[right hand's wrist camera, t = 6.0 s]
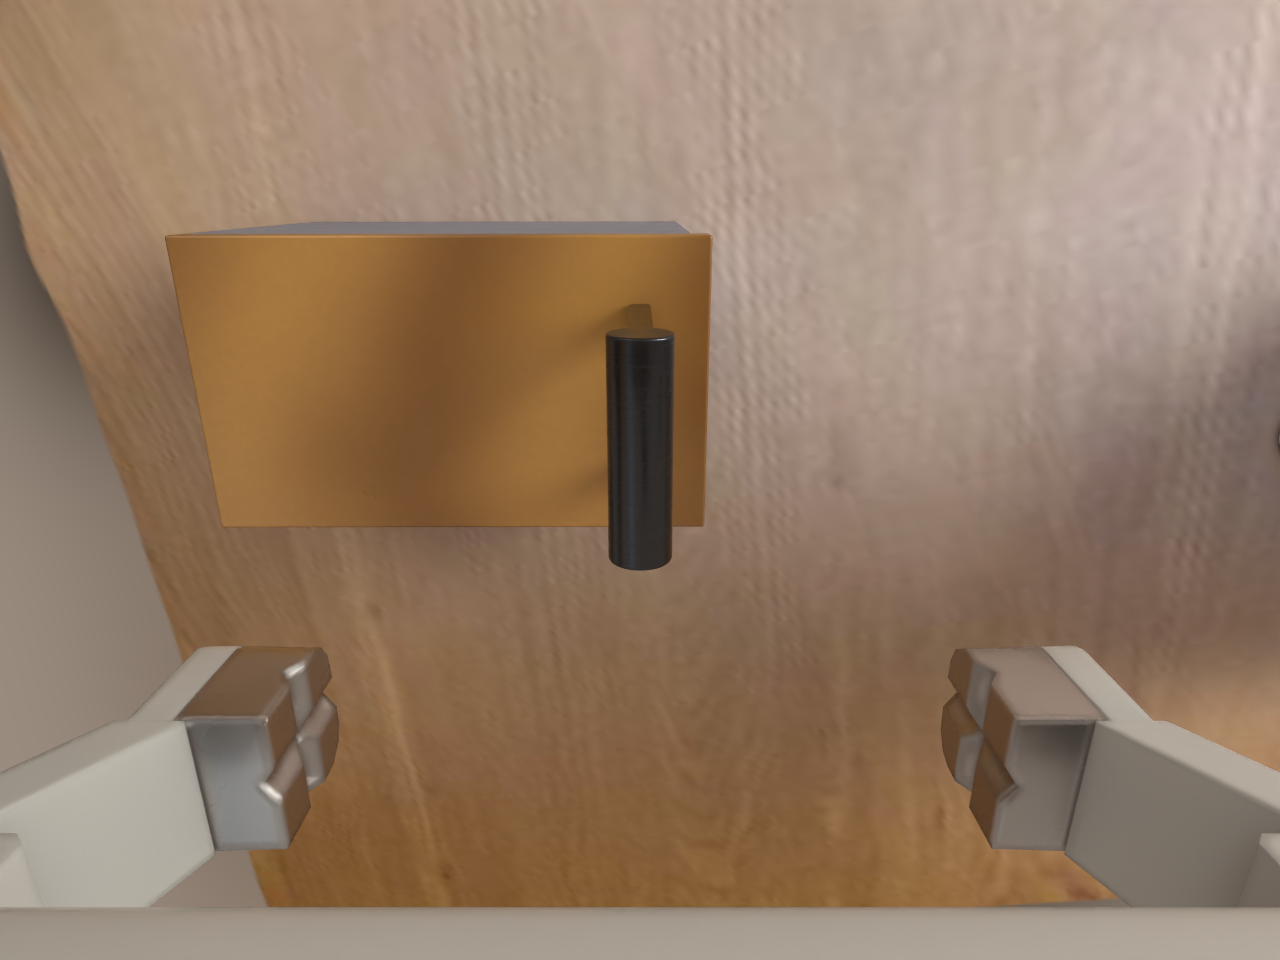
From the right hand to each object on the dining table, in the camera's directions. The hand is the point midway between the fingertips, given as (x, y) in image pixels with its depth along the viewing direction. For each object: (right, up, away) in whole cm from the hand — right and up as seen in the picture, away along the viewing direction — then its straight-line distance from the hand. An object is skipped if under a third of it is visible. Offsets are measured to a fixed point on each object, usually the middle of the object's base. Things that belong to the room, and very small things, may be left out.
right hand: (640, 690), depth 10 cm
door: (-6, +6, +16) cm, 19 cm away
